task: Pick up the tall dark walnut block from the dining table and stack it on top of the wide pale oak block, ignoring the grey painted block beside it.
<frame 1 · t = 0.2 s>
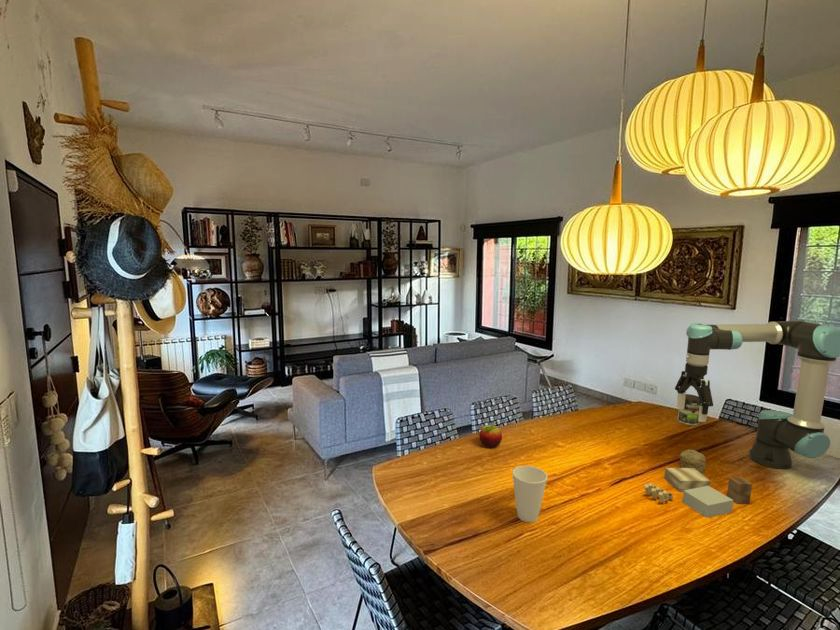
hand: (690, 414, 178), 28 cm above the table, fingers open, 13 cm apart
cup: (527, 516, 156), on the table
grey painted block: (706, 507, 163), on the table
pale oak block: (685, 485, 178), on the table
ammunition: (657, 498, 168), on the table
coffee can: (687, 421, 243), on the table
coral: (691, 469, 191), on the table
walnut block: (737, 500, 167), on the table
fruit: (490, 445, 211), on the table
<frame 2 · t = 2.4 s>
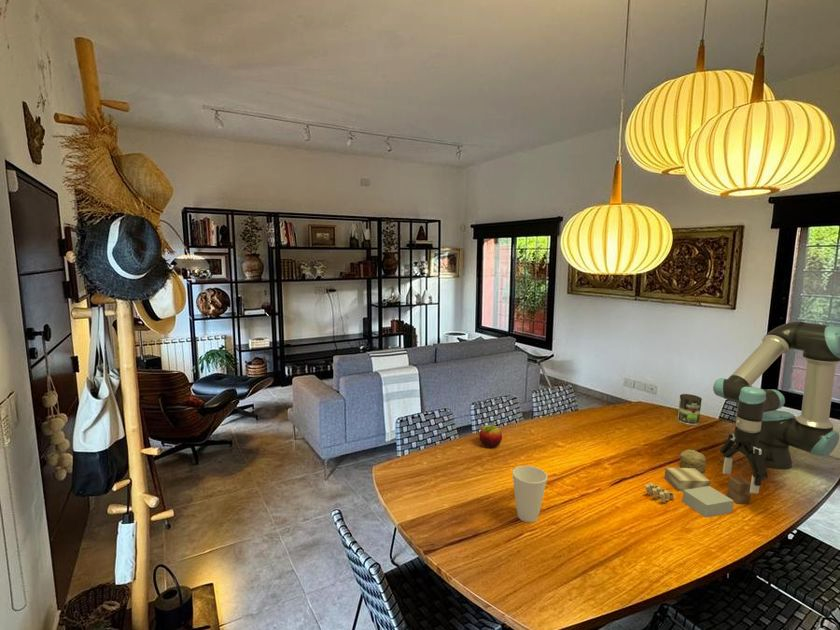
hand: (739, 482, 166), 7 cm above the table, fingers open, 13 cm apart
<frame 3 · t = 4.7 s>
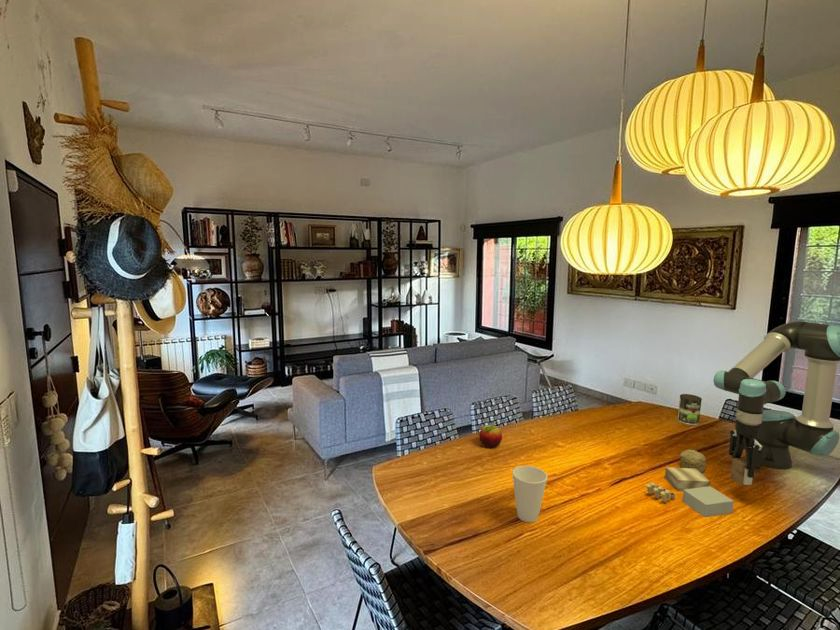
hand: (741, 479, 166), 8 cm above the table, fingers closed on walnut block, 5 cm apart
walnut block: (741, 481, 166), point 8 cm above the table, touching gripper
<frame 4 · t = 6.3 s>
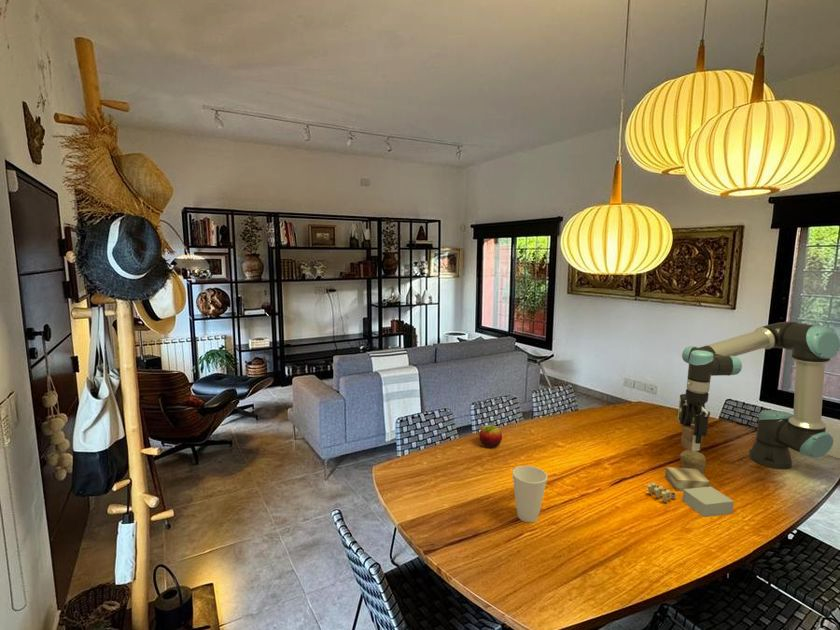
hand: (690, 446, 175), 16 cm above the table, fingers closed on walnut block, 5 cm apart
walnut block: (690, 447, 175), point 16 cm above the table, touching gripper
when the fingers open (6 cm above the table, at t = 7.9 s): walnut block stays where it is, resting on pale oak block.
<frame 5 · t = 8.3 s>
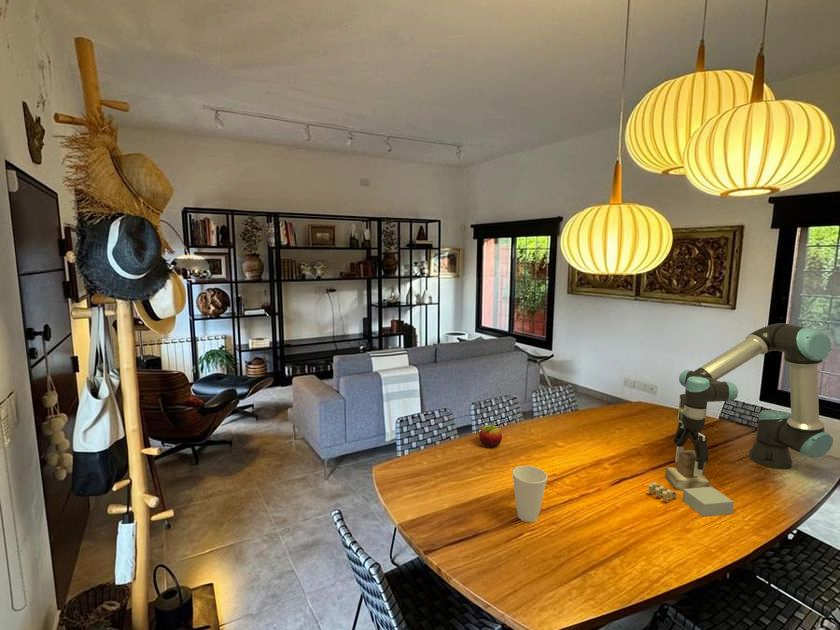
hand: (687, 468, 176), 7 cm above the table, fingers open, 11 cm apart
pale oak block: (685, 485, 178), on the table, touching walnut block
walnut block: (687, 474, 177), point 5 cm above the table, touching pale oak block
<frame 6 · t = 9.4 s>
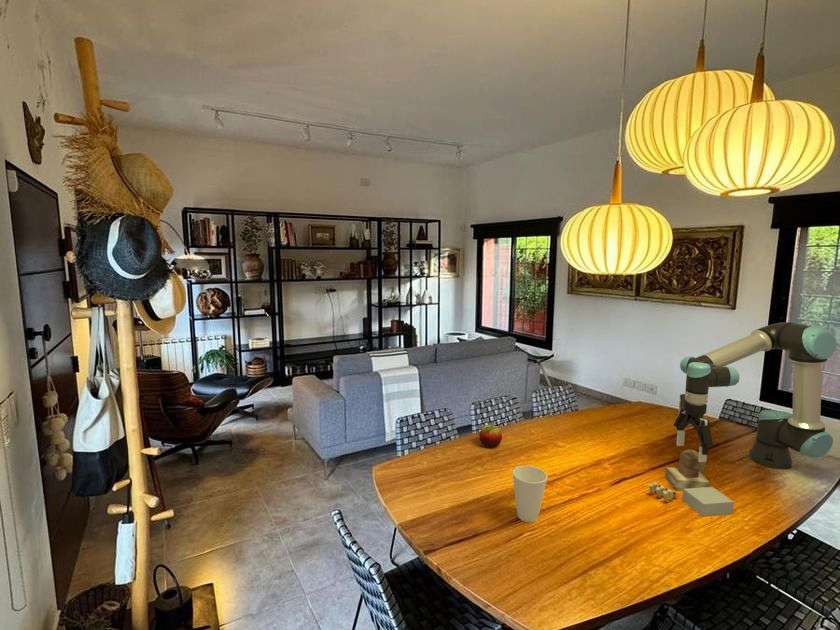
hand: (690, 453, 175), 14 cm above the table, fingers open, 13 cm apart
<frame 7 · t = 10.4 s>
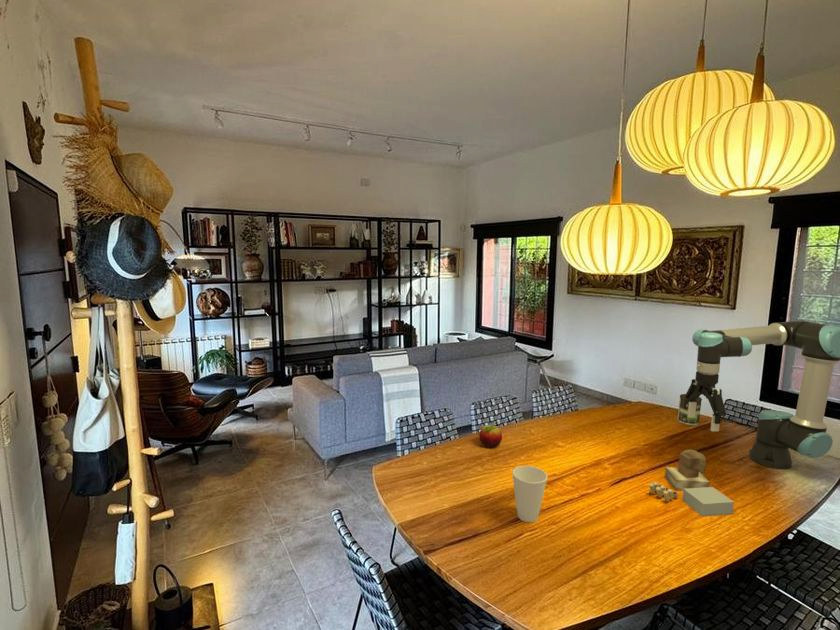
hand: (702, 423, 176), 25 cm above the table, fingers open, 13 cm apart
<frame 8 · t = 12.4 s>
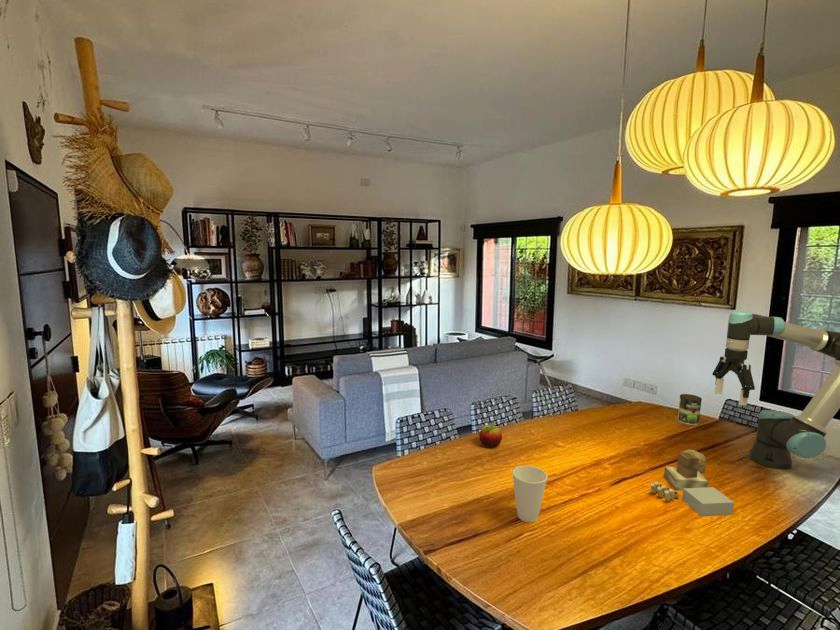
hand: (730, 399, 182), 33 cm above the table, fingers open, 13 cm apart
at the end: walnut block inside the target area on the pale oak block (0.6 cm from its centre), point 5.0 cm above the pale oak block's base; walnut block tilted 0°; the gripper is holding nothing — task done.
